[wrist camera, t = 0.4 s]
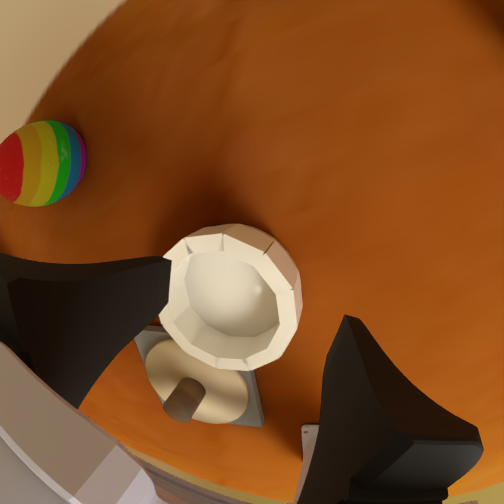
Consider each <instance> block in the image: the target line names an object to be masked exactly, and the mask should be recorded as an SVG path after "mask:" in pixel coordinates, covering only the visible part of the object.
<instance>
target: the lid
mask: <svg viewBox="0 0 504 504" xmlns="http://www.w3.org/2000/svg"><path fill="white" fill-rule="evenodd" d="M145 367H146V373H147V376H148V379H149V381H150V383H151V385H152V386H153V388H154V389H155V391H156V392H157V393H158V394H159V396H160V397H161V398H162V399H163V400H164V401H165V402H164V404H163V409H164V411H165V412H166V413H167V414H168V415H169V416H170V417H171V418H173V419H175V420H177V421H179V422H189V421H190V420H191V418H193V419H196V420H199V421H202V422H207V423H218V424H219V423H227V422H231V421H234V420H236V419H238V418H239V417H240V416H241V415H242V414H243V413H244V411H245V409H246V407H247V404H248V401H249V389H248V386H247V383H246V381H245V379H244V377H243V376H242V374H241V373H240V371H239V370H228V369H217V367H216V368H214V367H212V366H210V365H208V364H206V363H204V362H203V361H201V360H199V359H197V358H195V357H193V356H191V355H189V354H188V353H186V351H184V350H183V349H182V348H181V347H180V346H179V345H178V344H177V342H176V341H175V340H174V339H173V338H170V339H166V340H163V341H161V342H159V343H158V344H156V345H155V346H154V347H153V348H152V349H151V350H150V352H149V353H148V355H147V357H146V362H145Z"/></svg>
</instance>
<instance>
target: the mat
mask: <svg viewBox="0 0 504 504" xmlns="http://www.w3.org/2000/svg"><path fill="white" fill-rule="evenodd" d="M170 338H172V337H171V335H170V334H169V333H168V332H167V331H166V330H165V328H164V327H162V326H150V325H148V326H147V327H146V328H145V329H144V330H143V331H141V332H140V333H139V334H138V335H137V336H136V337H135V338H134V339H135V342H136V344H137V347H138V350H139V352H140V355H141V357H142V359H143V362H144V364H145V362H146V357H147V355H148V353H149V352H150V350H151V349H152V348H153V347H154V346H155V345H156V344H158V343H159V342H161V341H163V340H166V339H170ZM239 371H240V373H241V374H242V376H243V377H244V379H245V381H246V383H247V386H248V389H249V401H248V404H247V407H246V409H245V411H244V413H243V414H242V415H241V416H240V417H239V418H238V419H236V420H234V421H231V422H227V423H229V424H237V425H245V426H253V427H263V424H264V421H265V420H264V415H263V411H262V406H261V401H260V397H259V392H258V387H257V382H256V378H255V373H254V370H252V371H251V370H250V371H241V370H239ZM158 395H159V394H158ZM159 397H160V396H159ZM160 399H161V402H162V404H164V402H165V401H164V400H163V399H162V398H161V397H160Z"/></svg>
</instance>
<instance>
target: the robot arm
mask: <svg viewBox="0 0 504 504" xmlns="http://www.w3.org/2000/svg"><path fill="white" fill-rule="evenodd" d="M171 266H172V260H169V259H166V258H164V257H161V256H150V257H141V258H134V259H126V260H119V261H111V262H102V263H92V264H57V263H45V262H37V261H31V260H26V259H21V258H17V257H13V256H9V255H6V254H3V253H0V504H250V503H247V502H244V501H240V500H237V499H234V498H230V497H228V496H224V495H222V494H218V493H216V492H213V491H210V490H207V489H205V488H202V487H200V486H197V485H195V484H192V483H190V482H188V481H185V480H183V479H180V478H179V477H176V476H174V475H172V474H170V473H168V472H166V471H163V470H161V469H159V468H157V467H155V466H154V465H152V464H150V463H148V462H146V461H144V460H142V459H140V458H139V457H137V456H135V455H133V454H132V453H131V452H130V451H128V450H127V449H126V448H125V447H124V446H123V445H122V444H121V443H120V442H119V441H118V440H117V439H115V438H114V437H113V436H111V435H110V434H109V433H107V432H106V431H105V430H103V429H102V428H101V427H100V426H98V425H97V424H96V423H95V422H93V421H92V420H91V419H89V418H88V417H87V416H85V415H84V414H83V413H81V412H80V411H79V410H78V408H79V406H80V404H81V403H82V401H83V399H84V398H85V396H86V395H87V393H88V392H89V390H90V389H91V387H92V386H93V384H94V383H95V382H96V380H97V379H98V378H99V376H100V375H101V374H102V372H103V371H104V370H105V368H106V367H107V366H108V365H109V364H110V362H111V361H112V360H113V359H114V358H115V356H116V355H117V354H118V353H119V352H120V351H121V350H122V349H123V348H124V347H125V346H126V345H127V344H128V343H129V342H130V341H132V340H133V339H134V338H135V337H136V336H137V335H138V334H139V333H140V332H141V331H143V330H144V329H145V328H146V327H147V326H148V325H149V324H150V323H151V322H152V321H153V320H154V319H155V318H156V317H157V316H158V315H159V314H160V313H161V311H162V310H163V309H164V307H165V306H166V305H167V304H168V302H169V288H170V276H171ZM301 432H302V445H303V463H302V468H301V473H300V477H299V481H298V486H297V490H296V494H295V498H294V502H293V503H287V504H442V500H445V499H447V497H448V489H447V488H448V487H449V486H450V485H452V484H453V483H454V482H456V481H457V480H458V479H460V478H461V477H462V476H463V475H465V474H466V473H467V472H468V471H469V470H470V469H472V468H473V467H474V466H475V465H476V463H477V462H478V461H479V459H480V458H481V456H482V453H483V450H484V449H483V445H482V441H481V438H480V434H479V431H478V428H477V427H476V426H474V425H472V424H470V423H469V422H467V421H465V420H463V419H461V418H459V417H457V416H455V415H453V414H452V413H450V412H449V411H447V410H446V409H444V408H443V407H441V406H440V405H438V404H437V403H435V402H434V401H433V400H431V399H430V398H429V397H427V396H426V395H425V394H424V393H423V392H421V391H420V390H419V389H418V388H417V387H416V386H414V385H413V384H412V383H411V382H410V381H409V380H408V379H407V378H406V377H405V376H404V375H403V374H402V373H401V372H400V371H399V369H398V368H397V367H396V366H395V365H394V364H393V363H392V361H391V360H390V359H389V358H388V356H387V355H386V354H385V353H384V351H383V350H382V349H381V347H380V346H379V345H378V343H377V342H376V340H375V339H374V338H373V336H372V335H371V333H370V332H369V330H368V329H367V328H366V326H365V325H364V324H363V322H362V321H361V320H360V319H359V318H355V317H352V316H348V315H344V317H343V320H342V322H341V325H340V327H339V329H338V332H337V334H336V336H335V338H334V341H333V343H332V345H331V347H330V350H329V352H328V354H327V357H326V362H325V367H324V373H323V381H322V396H321V410H320V422H319V425H303V426H302V428H301ZM461 504H478V501H470V502H465V503H461Z"/></svg>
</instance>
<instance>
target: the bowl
mask: <svg viewBox="0 0 504 504" xmlns="http://www.w3.org/2000/svg"><path fill="white" fill-rule="evenodd" d="M163 257H164V258H166V259H169V260H172V266H171V276H170V288H169V302H168V304H167V305H166V306H165V307H164V309H163V310H162V311H161V313H160V314H159V318H160V321H161V324H163V327H164V328H165V330H166V331H167V332H168V333H169V334H170V335H171V337H172V338H173V339H174V340H175V341H176V342H177V344H178V345H179V346H180V347H181V348H182V349H183V350H184V351H186V353H188V354H189V355H191V356H193V357H195V358H197V359H199V360H201V361H203V362H204V363H206V364H208V365H210V366H212V367H214V368H216V367H217V369H228V370H241V371H250V370H251V371H252V370H254V369H256V368H259V367H261V366H263V365H265V364H267V363H270V362H272V361H274V360H276V359H278V358H280V357H281V356H282V354H283V352H284V351H285V349H286V347H287V346H288V344H289V342H290V340H291V339H292V337H293V335H294V334H295V332H296V330H297V327H298V323H299V319H300V315H301V311H302V307H303V303H302V293H301V280H300V274H299V272H298V271H299V270H298V269H297V266H296V264H295V262H294V260H293V258H292V257H291V255H290V254H289V252H288V251H287V250H286V249H285V247H284V246H283V245H282V244H281V243H280V242H278V241H277V240H276V239H275V238H274V237H272V236H271V235H269V234H268V233H266V232H264V231H262V230H260V229H258V228H255V227H252V226H248V225H244V224H238V223H237V224H223V225H218V226H212V227H204V228H202V229H200V230H198V231H196V232H194V233H192V234H190V235H188V236H186V237H184V238H183V239H181V240H180V241H179V242H178V243H177V244H176V245H175V246H174V247H173V248H172V249H171V250H169V251H168V252H167V253H166V254H165V255H164V256H163Z"/></svg>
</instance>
